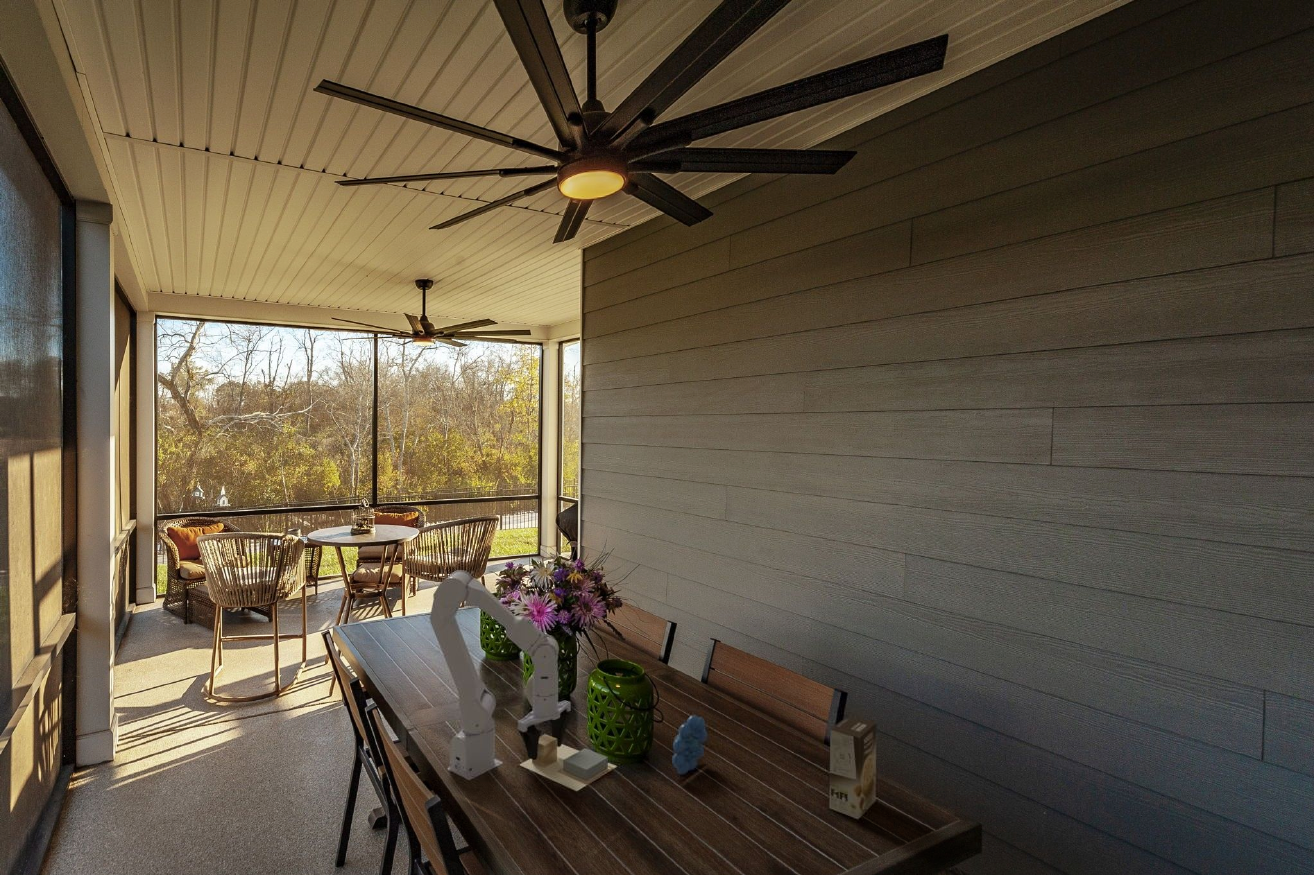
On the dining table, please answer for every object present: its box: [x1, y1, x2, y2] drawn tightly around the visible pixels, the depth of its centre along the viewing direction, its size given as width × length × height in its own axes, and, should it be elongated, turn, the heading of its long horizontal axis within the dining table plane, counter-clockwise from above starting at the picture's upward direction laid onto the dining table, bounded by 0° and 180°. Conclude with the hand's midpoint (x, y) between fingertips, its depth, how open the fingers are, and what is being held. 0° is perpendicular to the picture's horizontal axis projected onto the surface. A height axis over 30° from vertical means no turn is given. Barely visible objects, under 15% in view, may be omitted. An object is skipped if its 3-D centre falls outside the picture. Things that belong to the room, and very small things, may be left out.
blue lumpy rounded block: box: [671, 714, 708, 776], centre depth 144 cm, size 12×7×12 cm, turn 141°
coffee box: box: [829, 715, 877, 820], centre depth 130 cm, size 9×6×16 cm
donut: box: [525, 674, 533, 707], centre depth 175 cm, size 10×3×10 cm, turn 55°
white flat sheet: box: [519, 743, 618, 792], centre depth 143 cm, size 13×18×1 cm
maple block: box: [532, 733, 557, 768], centre depth 145 cm, size 4×4×5 cm
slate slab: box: [563, 748, 609, 781], centre depth 142 cm, size 7×7×2 cm
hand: (545, 751), depth 145 cm, fingers open, 7 cm apart
